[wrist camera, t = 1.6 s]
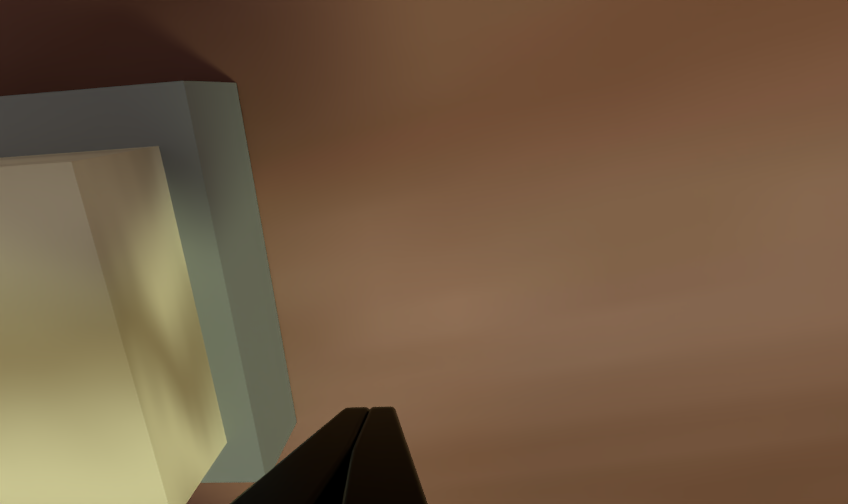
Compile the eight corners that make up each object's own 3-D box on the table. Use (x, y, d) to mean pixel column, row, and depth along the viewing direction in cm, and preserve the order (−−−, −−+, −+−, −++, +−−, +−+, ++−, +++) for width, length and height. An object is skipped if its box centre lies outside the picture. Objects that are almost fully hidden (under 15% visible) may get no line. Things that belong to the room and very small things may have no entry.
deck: (296, 422, 19) (266, 481, 16) (47, 427, 20) (-24, 484, 17) (236, 82, 15) (183, 80, 12) (-65, 108, 16) (-180, 111, 13)
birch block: (227, 442, 15) (173, 522, 13) (76, 445, 16) (-9, 522, 13) (158, 146, 13) (71, 161, 10) (-21, 159, 13) (-154, 177, 10)
